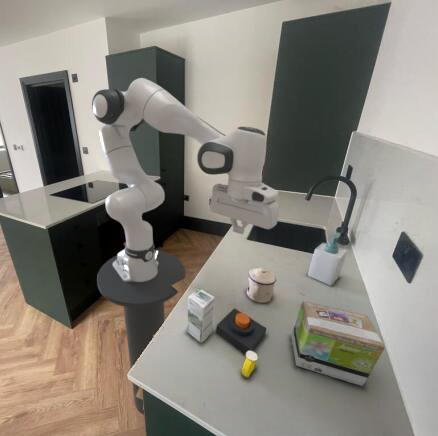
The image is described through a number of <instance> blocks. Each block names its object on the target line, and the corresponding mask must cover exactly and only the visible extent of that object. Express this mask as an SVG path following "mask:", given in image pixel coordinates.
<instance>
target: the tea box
mask: <svg viewBox="0 0 438 436" xmlns="http://www.w3.org/2000/svg"><path fill="white" fill-rule="evenodd" d="M291 332H292V333H291V335H290V338H291V343H292V349H293V356H294V362H295V366H296V367H299V368H303V369H306V370H309V371H312V372H316V373H319V374H321V375H322V374H323V375H325V376H329V377H331V378H334V379H338V380H342V381H344V382H348V383H351V384H354V385H357V386H360V387H363V386H364V385H365V383H366V381H367V380H368V379H369V377H370V375H371V373H372V371H373V369H374V368H375V366H376V364H377V363H378V361H379V359H380V357H381V355H382V354H383V352H384V350H385V349H386V346H385V344H384V343H383V341H382V339H381V337H380V335H379V333H378V332H377V330H376V328H375V326H374V324H373V323H372V321H371V318H370V316H369V315H368V314H364V313H358V312H354V311H351V310H345V309H340V308H336V307H333V306H332V307H331V306H327V305H323V304H318V303H314V302H309V301H304V300H303V301H302V302H301V305H300V308H299V311H298V314H297V317H296V319H295V323H294V327H293V329H292V331H291Z"/></svg>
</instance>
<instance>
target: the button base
mask: <svg viewBox="0 0 438 436" xmlns="http://www.w3.org/2000/svg"><path fill="white" fill-rule="evenodd" d="M238 313H242V311H240V310H238V309H237V308H232V310H231V311H230V312H228V314H226V315H225V317H223V318H222V319H221V321H219V322H218V323H217V324H216V328H215V334H217V335H218V336H220V337H221V338H222V339H224V340H225V341H226V342H228V343H229V344H230V345H232V346H233V347H234V348H236V349H237V350H239V352H241V353H243V355H245V356H246V352H247V351H253V352H254V351H255V349H256V348H257V347H258V345H259V344H260V343H261V342H262V340H263V339H264V338H265V336H266V332H267V327H266V326H264V325H262V324H261V323H259V322H258V321H256V320H254V319H253V318H251V317H250V316H249V315H247V316H248V317H249V318H250V322H249V326H248V328H245V329H243V328H240V327H238V326H237V325H236V324H235V318H236V315H237V314H238Z"/></svg>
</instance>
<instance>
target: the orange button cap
mask: <svg viewBox="0 0 438 436" xmlns="http://www.w3.org/2000/svg"><path fill="white" fill-rule="evenodd" d="M248 316H249V315H247V314H246V313H243V312H241V313H238V314H237V315H236V318H235V324H236V325H237V326H238V327H240V328H243V329H245V328H248V326H249V322H250V318H251V317H250V316H249V317H250V318H249V317H248Z"/></svg>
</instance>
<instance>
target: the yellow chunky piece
mask: <svg viewBox="0 0 438 436" xmlns="http://www.w3.org/2000/svg"><path fill="white" fill-rule="evenodd" d="M258 357H259V355H258V354H257V352H255V351H254V350H253V351H247V352H246V355H245V358H246V359H245V361H244V363H243V366H242V368H241V374H242V375H243V376H244V377H245V378H249V377H250V375H251V373H252V372H253V371H254V370H255V367H256V364H257V363H258Z"/></svg>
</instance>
